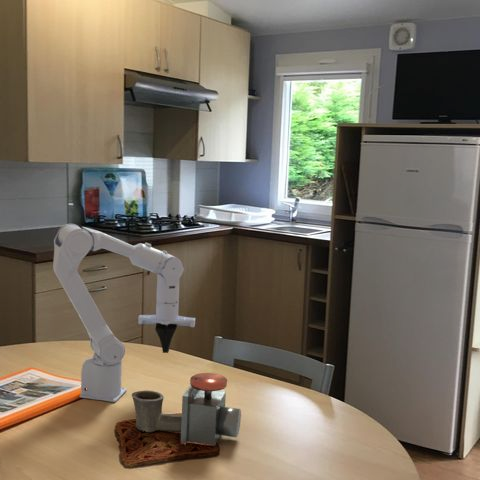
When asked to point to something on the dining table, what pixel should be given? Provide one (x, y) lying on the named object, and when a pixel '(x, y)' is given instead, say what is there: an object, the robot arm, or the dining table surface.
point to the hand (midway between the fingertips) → (165, 351)
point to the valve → (207, 410)
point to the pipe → (153, 413)
